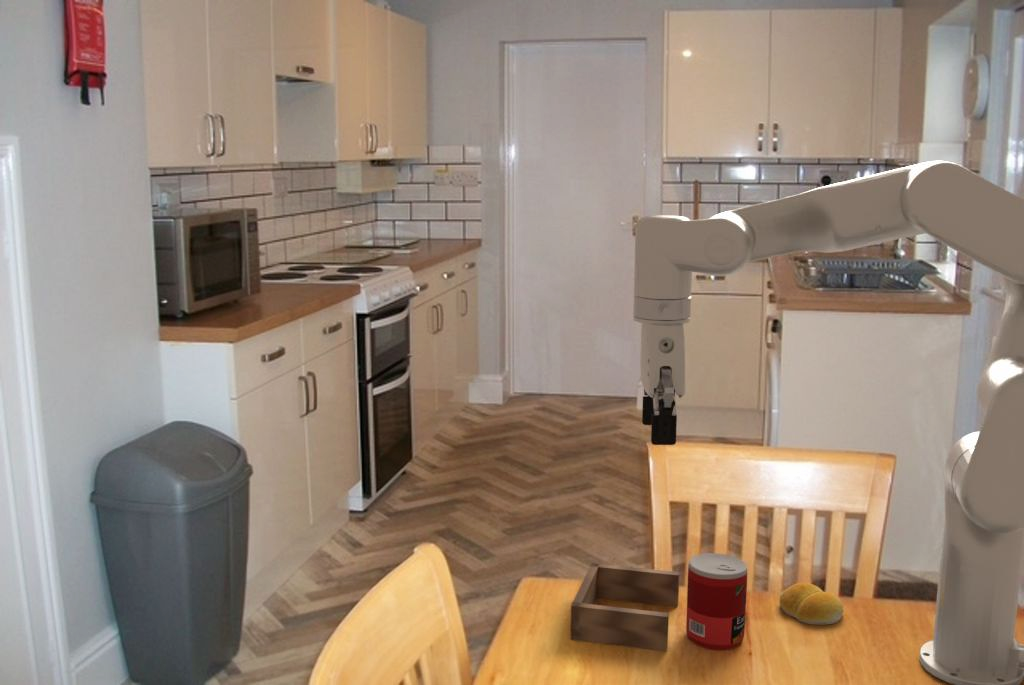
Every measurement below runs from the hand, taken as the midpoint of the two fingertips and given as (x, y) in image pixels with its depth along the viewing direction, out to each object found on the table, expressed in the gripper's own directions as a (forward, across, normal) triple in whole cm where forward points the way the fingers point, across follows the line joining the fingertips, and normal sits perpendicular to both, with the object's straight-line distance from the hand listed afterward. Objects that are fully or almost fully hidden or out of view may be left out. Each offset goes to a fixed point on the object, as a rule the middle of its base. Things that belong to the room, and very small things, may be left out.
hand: (658, 434), depth 143 cm
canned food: (+29, -2, -8) cm, 30 cm away
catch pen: (+29, +3, +3) cm, 29 cm away
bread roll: (+29, +6, -24) cm, 38 cm away
